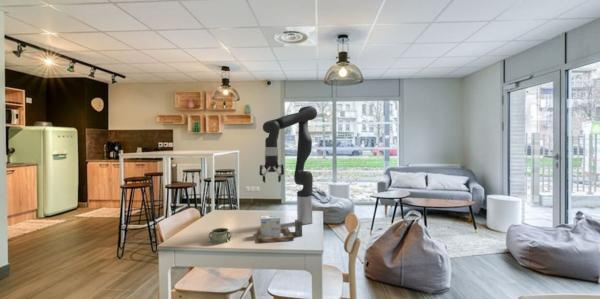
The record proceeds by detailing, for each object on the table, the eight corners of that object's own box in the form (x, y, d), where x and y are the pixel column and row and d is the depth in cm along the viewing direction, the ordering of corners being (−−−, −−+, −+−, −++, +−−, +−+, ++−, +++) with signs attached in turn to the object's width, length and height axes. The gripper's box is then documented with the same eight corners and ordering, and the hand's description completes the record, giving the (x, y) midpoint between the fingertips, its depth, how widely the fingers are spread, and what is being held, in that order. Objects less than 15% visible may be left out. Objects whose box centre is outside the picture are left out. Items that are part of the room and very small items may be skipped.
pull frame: (298, 230, 183) (298, 216, 183) (304, 239, 165) (304, 224, 165) (256, 233, 178) (256, 219, 178) (258, 242, 160) (258, 227, 160)
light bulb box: (279, 233, 178) (279, 214, 178) (280, 237, 171) (280, 217, 171) (260, 234, 176) (260, 215, 176) (261, 238, 169) (261, 218, 169)
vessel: (233, 239, 168) (233, 227, 168) (229, 244, 159) (229, 232, 159) (211, 239, 168) (211, 227, 168) (206, 244, 159) (205, 232, 159)
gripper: (282, 154, 190) (282, 181, 190) (258, 154, 187) (259, 182, 188) (284, 154, 183) (284, 182, 183) (259, 155, 180) (260, 183, 180)
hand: (271, 182), depth 185 cm, fingers open, 8 cm apart
